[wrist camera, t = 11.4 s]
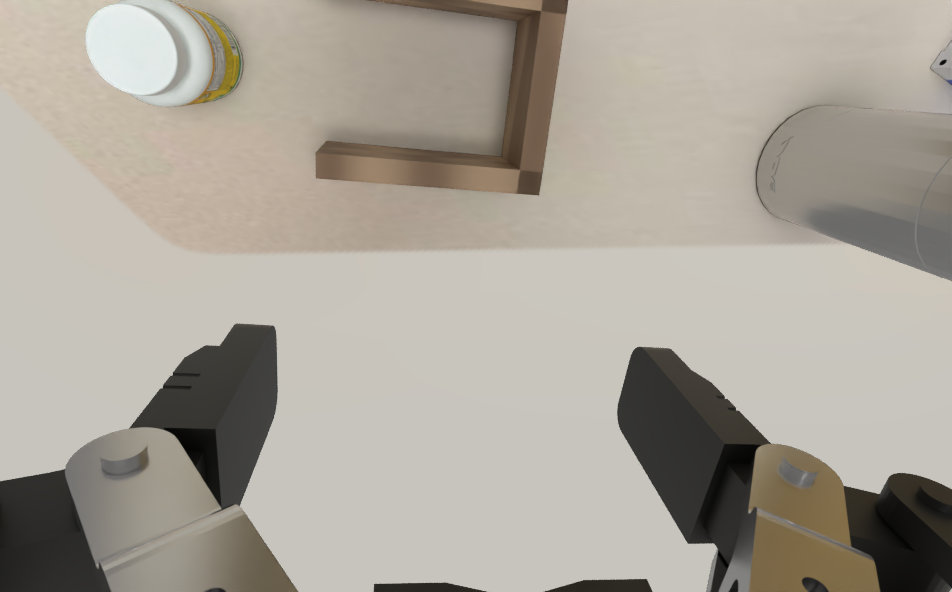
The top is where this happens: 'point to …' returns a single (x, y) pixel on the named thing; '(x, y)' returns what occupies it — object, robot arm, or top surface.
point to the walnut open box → (527, 120)
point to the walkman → (944, 64)
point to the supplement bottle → (163, 52)
